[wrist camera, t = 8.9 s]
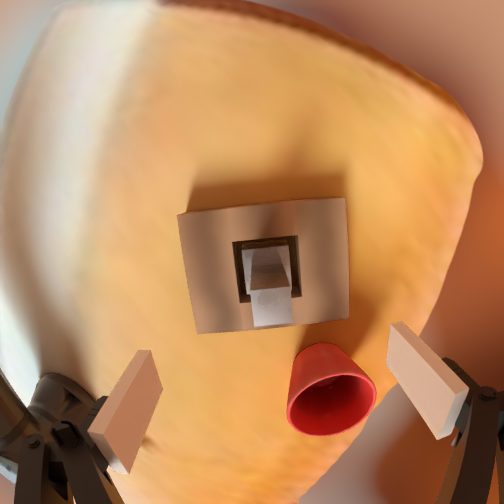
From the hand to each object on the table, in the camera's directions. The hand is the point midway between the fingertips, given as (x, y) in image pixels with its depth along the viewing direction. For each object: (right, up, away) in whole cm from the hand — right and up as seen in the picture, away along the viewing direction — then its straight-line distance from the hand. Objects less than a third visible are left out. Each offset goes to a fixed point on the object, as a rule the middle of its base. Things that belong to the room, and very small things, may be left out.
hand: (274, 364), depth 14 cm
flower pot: (+8, -10, +24) cm, 28 cm away
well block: (+1, +5, +21) cm, 21 cm away
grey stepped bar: (+1, +5, +21) cm, 22 cm away
